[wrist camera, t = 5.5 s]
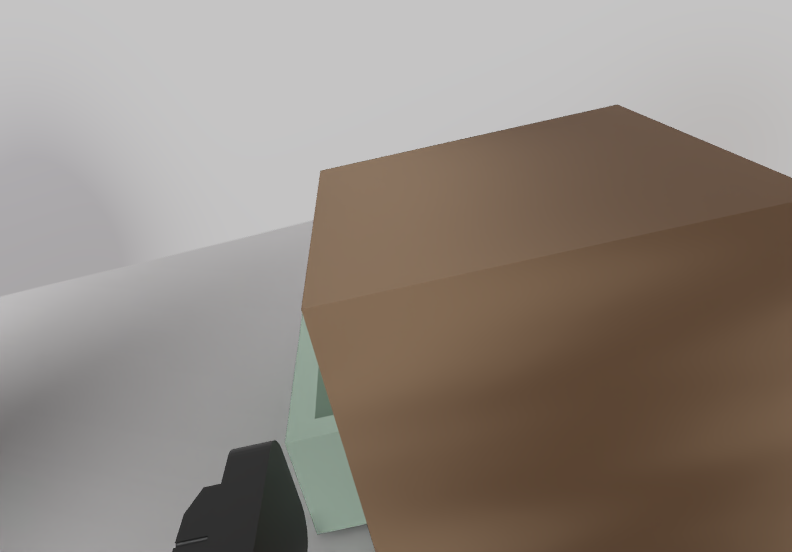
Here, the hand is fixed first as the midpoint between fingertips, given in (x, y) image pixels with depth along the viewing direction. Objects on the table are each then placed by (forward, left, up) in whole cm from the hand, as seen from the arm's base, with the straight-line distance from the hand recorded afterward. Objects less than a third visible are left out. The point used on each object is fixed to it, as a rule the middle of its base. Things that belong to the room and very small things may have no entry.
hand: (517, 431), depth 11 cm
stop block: (0, -2, -6) cm, 6 cm away
